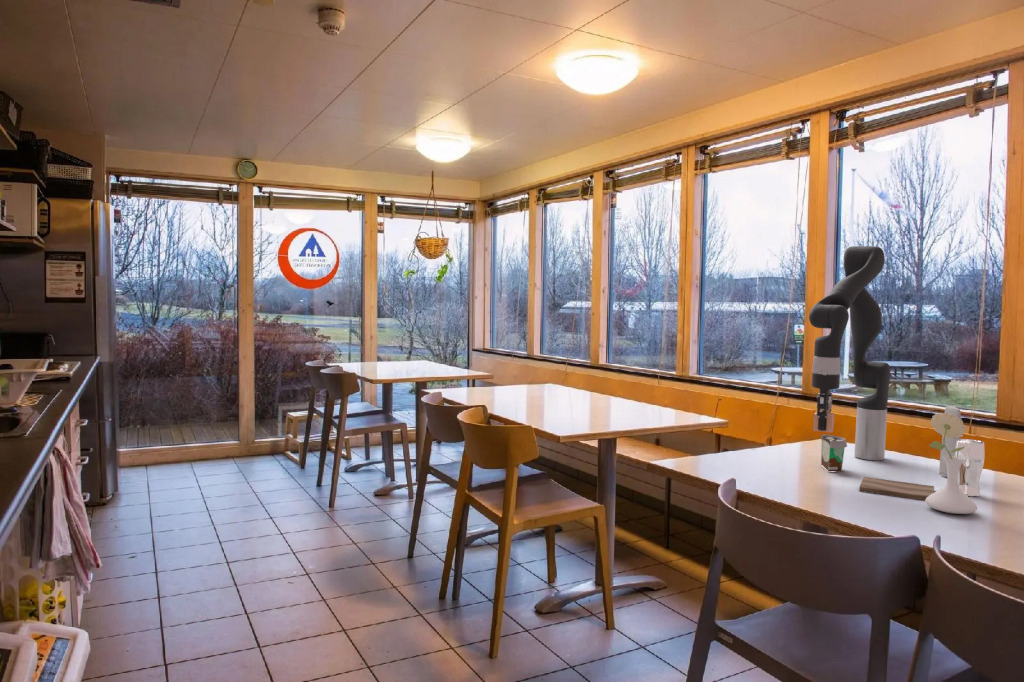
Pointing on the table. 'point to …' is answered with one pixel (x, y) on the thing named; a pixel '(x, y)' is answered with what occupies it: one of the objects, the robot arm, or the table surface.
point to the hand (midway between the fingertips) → (823, 428)
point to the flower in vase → (950, 469)
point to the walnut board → (896, 488)
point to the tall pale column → (948, 441)
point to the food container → (832, 452)
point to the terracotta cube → (829, 422)
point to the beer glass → (970, 465)
